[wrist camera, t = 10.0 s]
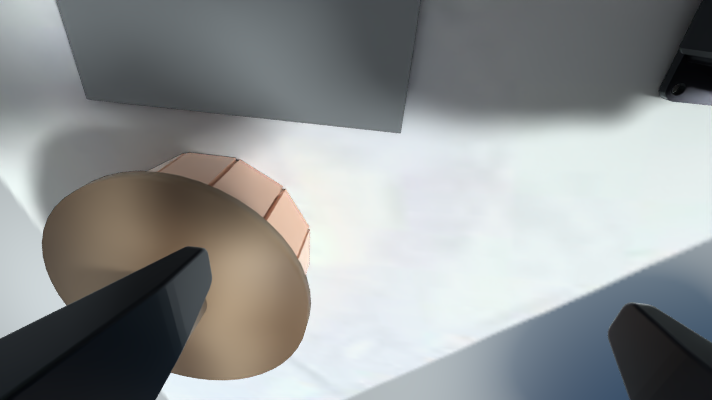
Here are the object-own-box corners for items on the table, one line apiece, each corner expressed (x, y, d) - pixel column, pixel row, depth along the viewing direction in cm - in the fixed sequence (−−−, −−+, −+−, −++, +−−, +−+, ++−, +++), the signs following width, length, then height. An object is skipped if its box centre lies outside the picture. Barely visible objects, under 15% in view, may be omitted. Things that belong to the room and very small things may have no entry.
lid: (312, 189, 14) (278, 267, 10) (309, 381, 20) (287, 476, 16) (12, 154, 14) (-142, 213, 10) (101, 351, 21) (28, 436, 17)
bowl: (310, 166, 18) (288, 209, 14) (308, 310, 24) (291, 369, 20) (115, 144, 19) (42, 179, 15) (157, 289, 24) (111, 343, 20)
